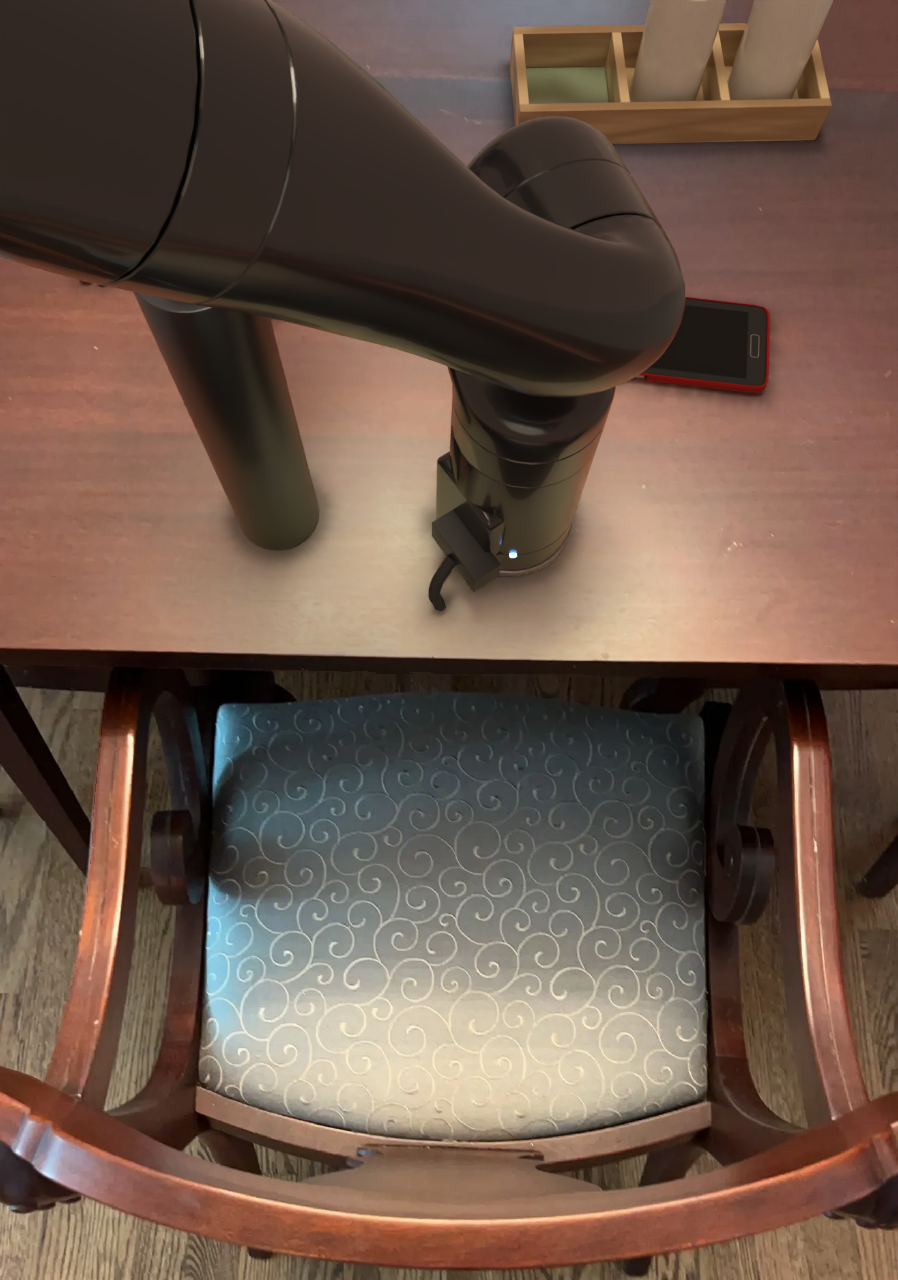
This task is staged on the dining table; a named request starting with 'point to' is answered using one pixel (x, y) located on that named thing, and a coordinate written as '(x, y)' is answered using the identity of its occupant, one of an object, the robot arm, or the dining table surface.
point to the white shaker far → (776, 48)
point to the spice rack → (599, 95)
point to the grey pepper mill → (240, 414)
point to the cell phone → (717, 347)
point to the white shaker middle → (675, 49)
